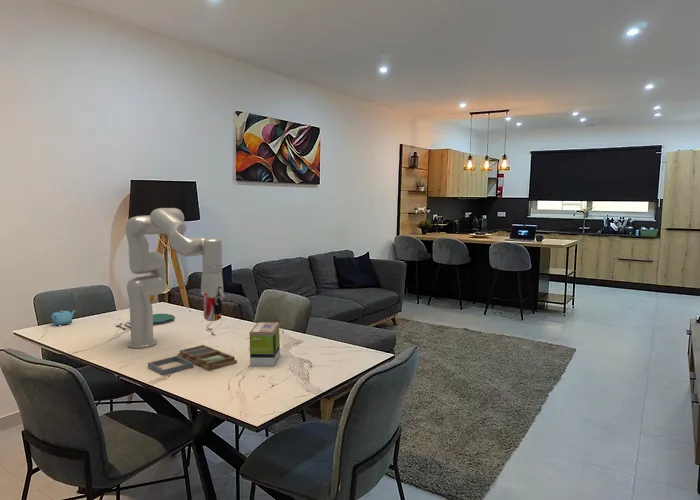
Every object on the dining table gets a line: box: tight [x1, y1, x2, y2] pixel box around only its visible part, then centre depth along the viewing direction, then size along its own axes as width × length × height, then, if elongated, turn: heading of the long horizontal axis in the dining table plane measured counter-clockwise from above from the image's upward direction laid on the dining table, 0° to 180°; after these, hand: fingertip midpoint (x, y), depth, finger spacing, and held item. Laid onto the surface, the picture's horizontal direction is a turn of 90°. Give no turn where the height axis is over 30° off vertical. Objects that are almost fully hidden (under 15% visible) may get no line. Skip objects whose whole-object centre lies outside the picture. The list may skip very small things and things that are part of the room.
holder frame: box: [147, 355, 194, 376], centre depth 194 cm, size 13×13×2 cm
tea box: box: [249, 322, 281, 367], centre depth 204 cm, size 15×10×15 cm
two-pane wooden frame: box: [176, 344, 238, 372], centre depth 204 cm, size 25×13×3 cm, turn 48°
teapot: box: [51, 309, 76, 326], centre depth 258 cm, size 12×6×8 cm, turn 139°
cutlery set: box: [115, 313, 176, 331], centre depth 264 cm, size 20×30×2 cm, turn 136°
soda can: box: [203, 293, 223, 322], centre depth 198 cm, size 7×7×12 cm
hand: (213, 311), depth 198 cm, fingers closed on soda can, 6 cm apart
